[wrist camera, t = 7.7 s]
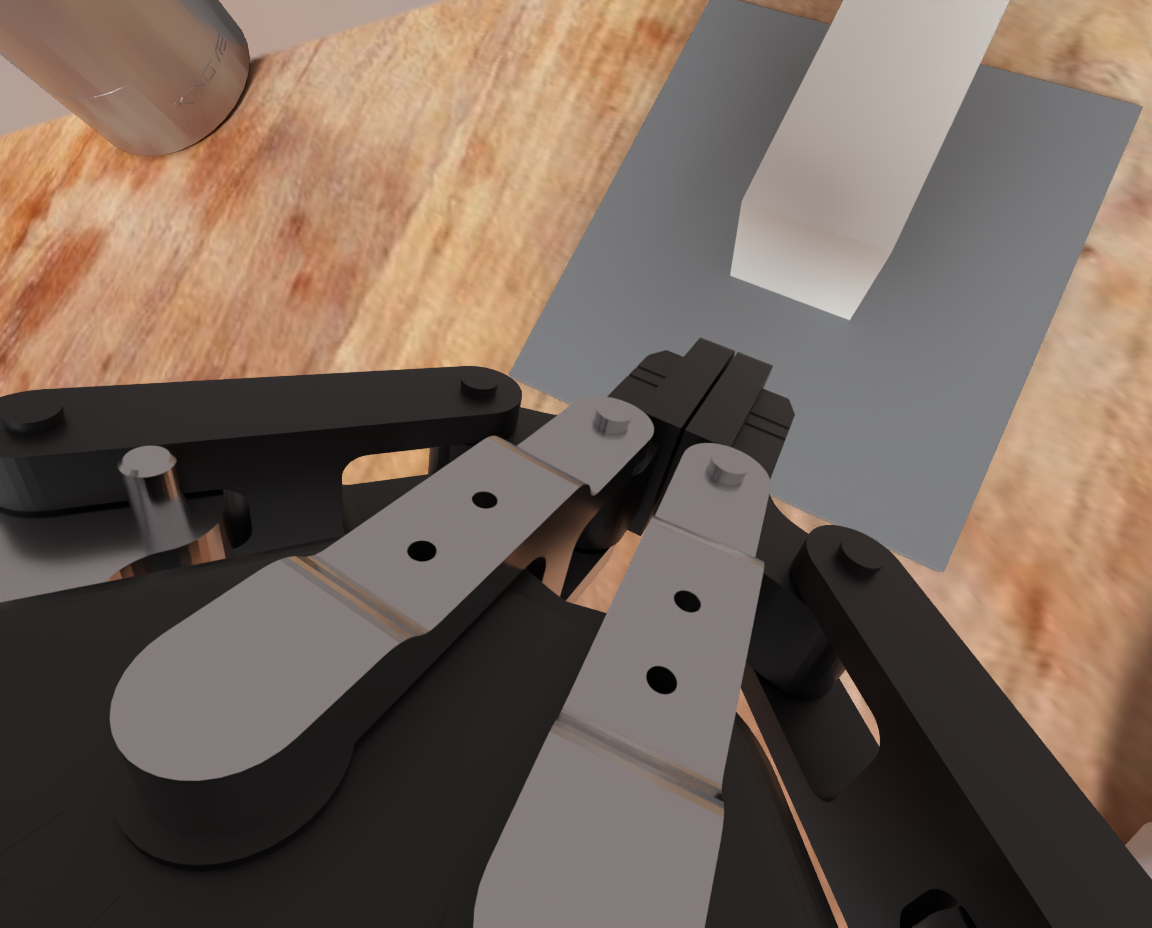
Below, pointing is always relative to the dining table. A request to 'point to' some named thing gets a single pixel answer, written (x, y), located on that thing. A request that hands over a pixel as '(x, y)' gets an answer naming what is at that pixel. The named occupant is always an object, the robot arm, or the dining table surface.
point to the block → (858, 146)
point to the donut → (1142, 847)
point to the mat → (891, 305)
